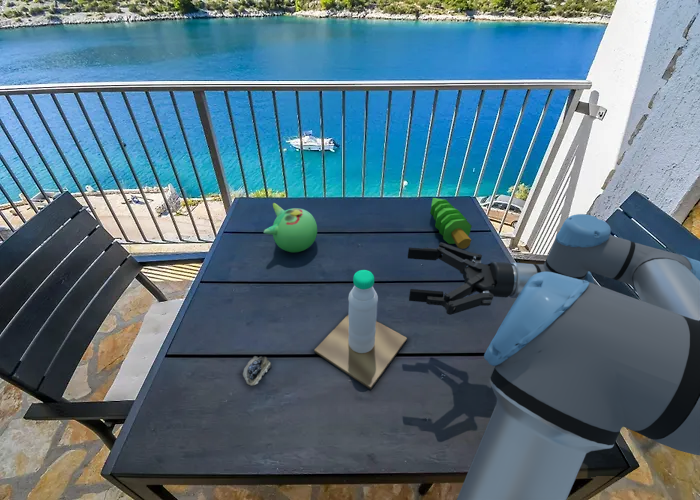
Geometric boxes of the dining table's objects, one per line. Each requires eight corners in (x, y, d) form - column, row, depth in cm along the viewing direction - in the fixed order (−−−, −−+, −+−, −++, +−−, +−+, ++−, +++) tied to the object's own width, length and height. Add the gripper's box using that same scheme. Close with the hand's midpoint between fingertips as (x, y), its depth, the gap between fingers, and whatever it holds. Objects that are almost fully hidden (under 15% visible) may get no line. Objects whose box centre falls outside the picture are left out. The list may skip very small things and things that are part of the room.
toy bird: (316, 261, 122) (313, 226, 112) (267, 260, 122) (261, 226, 113) (319, 231, 136) (317, 198, 127) (276, 230, 136) (271, 198, 127)
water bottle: (356, 358, 90) (358, 290, 74) (343, 339, 95) (342, 271, 79) (379, 347, 93) (385, 279, 77) (366, 328, 97) (369, 261, 82)
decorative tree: (462, 228, 116) (428, 182, 138) (443, 253, 123) (414, 206, 145) (487, 234, 121) (451, 189, 143) (468, 258, 127) (436, 212, 149)
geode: (274, 359, 91) (273, 354, 90) (265, 387, 85) (264, 383, 84) (249, 356, 92) (247, 352, 90) (238, 384, 85) (236, 380, 84)
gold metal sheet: (370, 389, 84) (370, 387, 84) (314, 352, 93) (314, 349, 92) (406, 340, 96) (407, 337, 95) (353, 310, 104) (353, 308, 103)
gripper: (519, 338, 67) (408, 329, 68) (492, 256, 86) (406, 250, 88) (532, 312, 62) (412, 302, 64) (500, 231, 81) (409, 226, 83)
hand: (408, 272), depth 76 cm, fingers open, 13 cm apart
